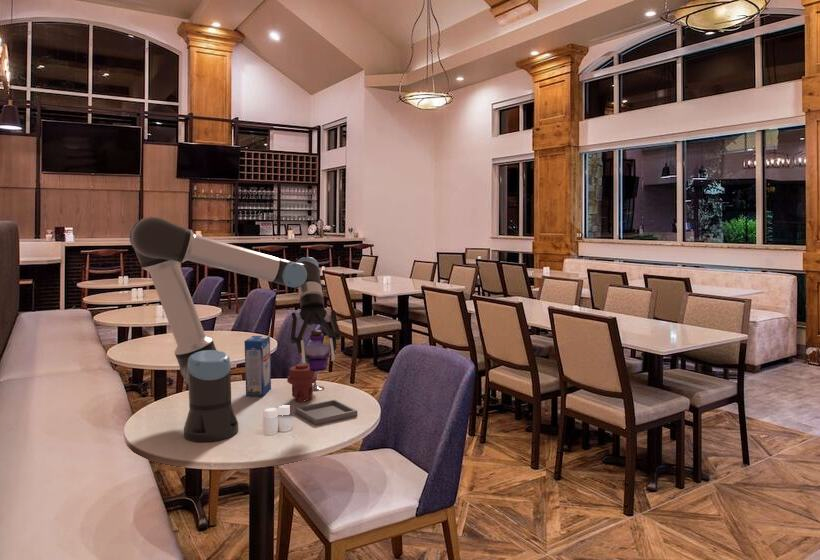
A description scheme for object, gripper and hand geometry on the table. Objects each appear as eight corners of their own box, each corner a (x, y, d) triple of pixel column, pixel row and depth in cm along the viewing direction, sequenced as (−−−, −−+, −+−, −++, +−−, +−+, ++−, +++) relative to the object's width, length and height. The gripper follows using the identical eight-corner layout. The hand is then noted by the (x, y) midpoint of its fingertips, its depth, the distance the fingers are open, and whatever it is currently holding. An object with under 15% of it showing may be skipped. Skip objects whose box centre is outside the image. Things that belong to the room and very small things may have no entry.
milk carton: (254, 388, 219) (253, 335, 217) (271, 389, 219) (269, 335, 217) (246, 396, 209) (244, 341, 207) (263, 397, 209) (261, 341, 207)
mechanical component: (319, 395, 210) (314, 404, 200) (291, 395, 211) (284, 404, 201) (318, 361, 209) (313, 368, 199) (290, 361, 209) (284, 368, 199)
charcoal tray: (316, 425, 180) (316, 419, 179) (295, 412, 191) (295, 407, 191) (357, 416, 188) (357, 410, 188) (334, 404, 200) (334, 399, 200)
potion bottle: (298, 368, 182) (297, 330, 181) (323, 363, 188) (321, 326, 186) (312, 374, 176) (310, 334, 174) (337, 369, 181) (335, 330, 179)
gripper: (342, 303, 197) (351, 363, 183) (278, 307, 192) (283, 369, 178) (344, 290, 191) (354, 350, 178) (278, 294, 186) (283, 356, 172)
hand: (318, 359), depth 178 cm, fingers closed on potion bottle, 8 cm apart
